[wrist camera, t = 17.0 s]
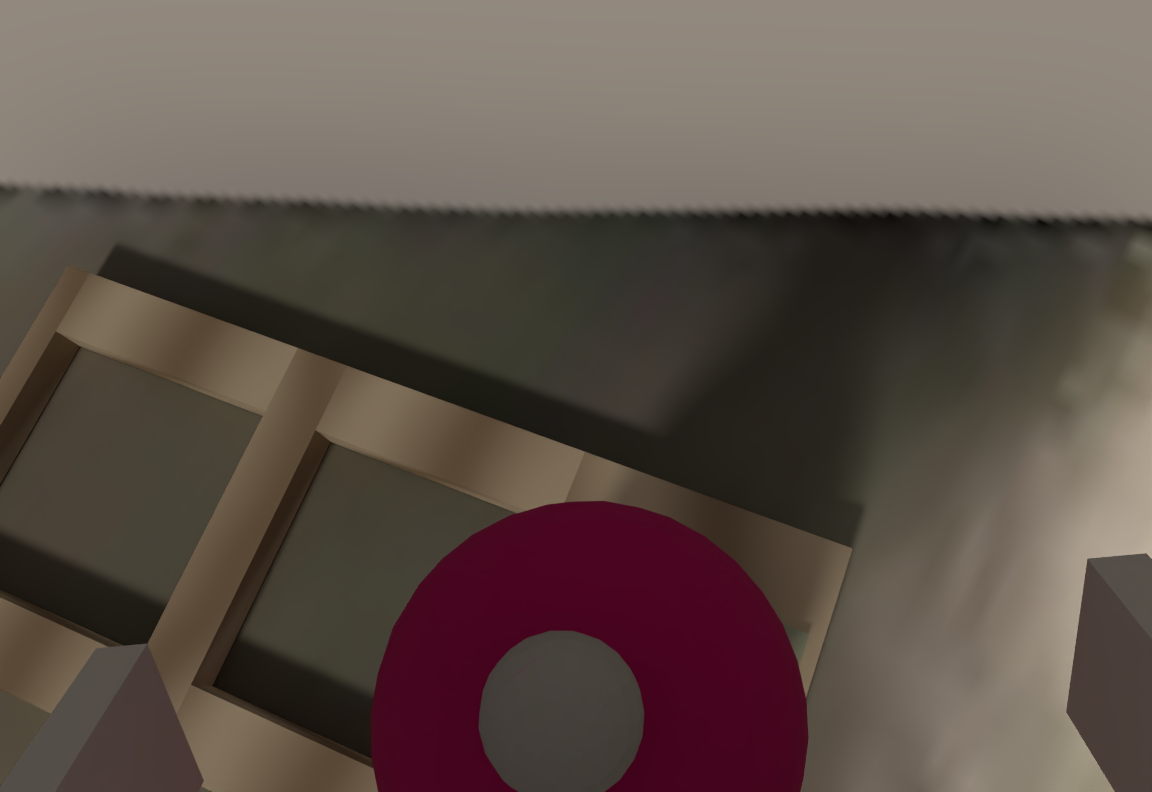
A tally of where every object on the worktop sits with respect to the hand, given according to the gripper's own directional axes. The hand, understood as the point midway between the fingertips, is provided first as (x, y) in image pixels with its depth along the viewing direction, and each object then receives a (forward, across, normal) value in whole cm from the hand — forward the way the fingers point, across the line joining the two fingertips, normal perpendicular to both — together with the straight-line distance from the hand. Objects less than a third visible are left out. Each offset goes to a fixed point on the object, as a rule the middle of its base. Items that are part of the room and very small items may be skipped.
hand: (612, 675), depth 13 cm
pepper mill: (+11, 0, -12) cm, 16 cm away
